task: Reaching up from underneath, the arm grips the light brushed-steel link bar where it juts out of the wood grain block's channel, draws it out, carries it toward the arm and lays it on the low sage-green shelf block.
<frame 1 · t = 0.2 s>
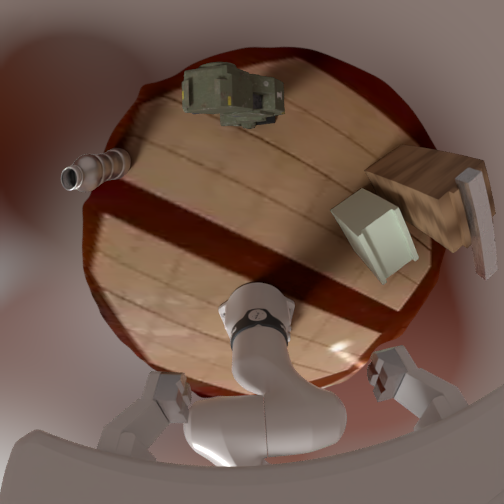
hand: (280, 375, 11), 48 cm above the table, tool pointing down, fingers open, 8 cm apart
wood grain block: (393, 175, 54), on the table
shelf block: (358, 220, 58), on the table
plastic bottle: (121, 162, 51), on the table
link bar: (475, 225, 31), point 26 cm above the table, touching wood grain block
mechanical leg: (243, 111, 48), on the table
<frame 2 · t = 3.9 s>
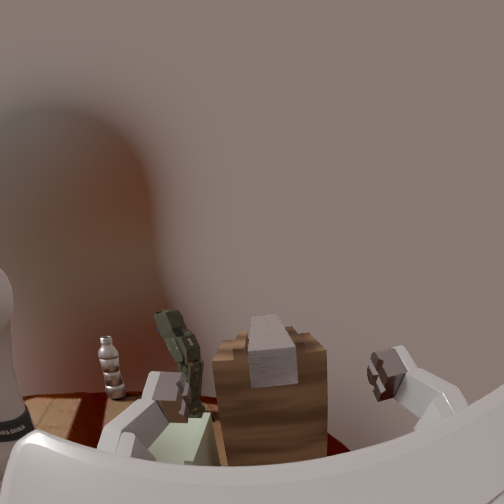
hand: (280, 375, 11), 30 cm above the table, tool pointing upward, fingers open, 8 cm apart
wood grain block: (279, 491, 29), on the table
plastic bottle: (117, 398, 67), on the table
link bar: (269, 353, 28), point 26 cm above the table, touching wood grain block
mechanical leg: (190, 417, 58), on the table
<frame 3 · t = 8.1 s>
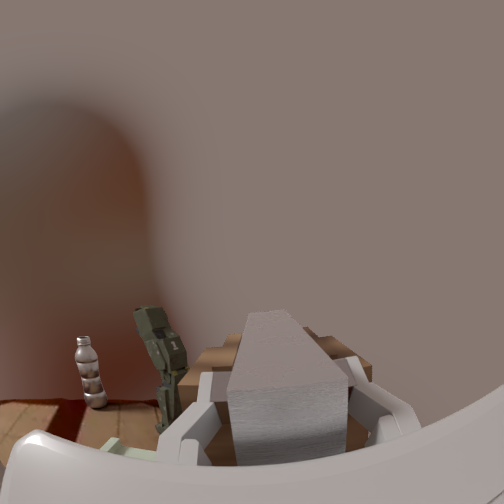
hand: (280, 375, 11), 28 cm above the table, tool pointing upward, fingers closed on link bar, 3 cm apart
plastic bottle: (98, 406, 55), on the table
link bar: (275, 373, 16), point 26 cm above the table, touching gripper
mechanical leg: (178, 434, 46), on the table
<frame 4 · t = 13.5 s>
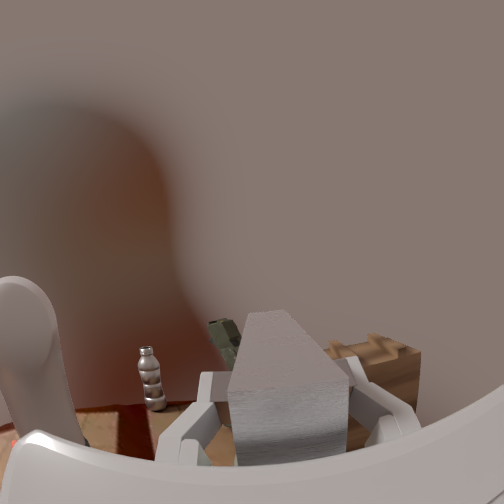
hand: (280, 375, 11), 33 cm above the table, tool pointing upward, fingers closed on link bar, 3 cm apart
wood grain block: (354, 486, 29), on the table
plastic bottle: (157, 409, 68), on the table
link bar: (275, 373, 16), point 31 cm above the table, touching gripper
mechanical leg: (242, 425, 58), on the table
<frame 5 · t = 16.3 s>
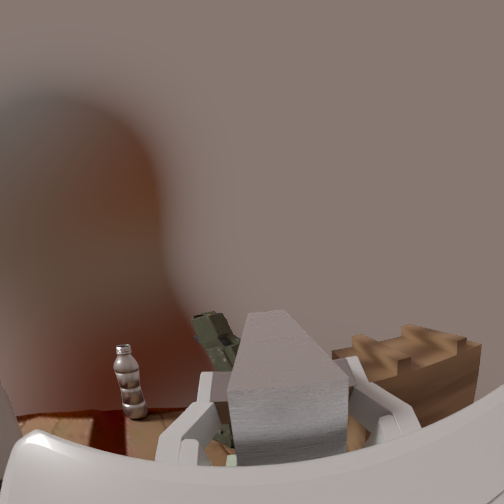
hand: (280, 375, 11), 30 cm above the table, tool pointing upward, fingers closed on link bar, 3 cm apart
plastic bottle: (137, 417, 56), on the table
link bar: (275, 373, 16), point 28 cm above the table, touching gripper
mechanical leg: (234, 439, 47), on the table
when the fingers open (19 cm above the table, at t = 18.9 s): link bar drops 2 cm, resting on shelf block.
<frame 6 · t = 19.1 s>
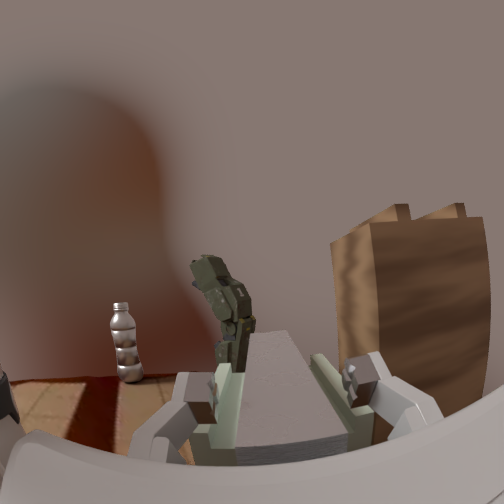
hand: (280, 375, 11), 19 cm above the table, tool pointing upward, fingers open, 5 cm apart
wood grain block: (397, 468, 19), on the table
plastic bottle: (132, 381, 57), on the table
link bar: (277, 400, 16), point 15 cm above the table, touching shelf block
mechanical leg: (233, 398, 48), on the table
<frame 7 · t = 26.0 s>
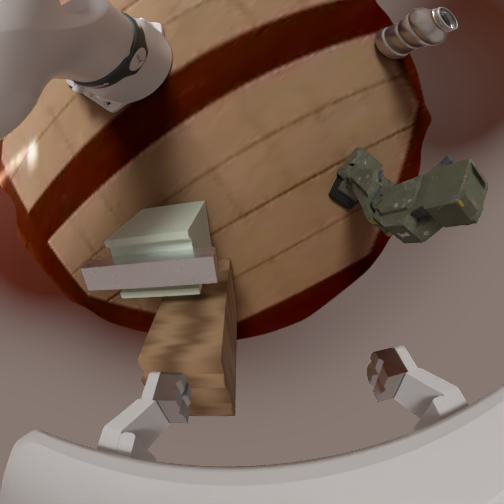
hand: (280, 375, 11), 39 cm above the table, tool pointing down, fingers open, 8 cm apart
wood grain block: (209, 287, 54), on the table
shelf block: (176, 228, 49), on the table
plastic bottle: (385, 46, 35), on the table
link bar: (149, 265, 35), point 15 cm above the table, touching shelf block
mechanical leg: (355, 174, 46), on the table
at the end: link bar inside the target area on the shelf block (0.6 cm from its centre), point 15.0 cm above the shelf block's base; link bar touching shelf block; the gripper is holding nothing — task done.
